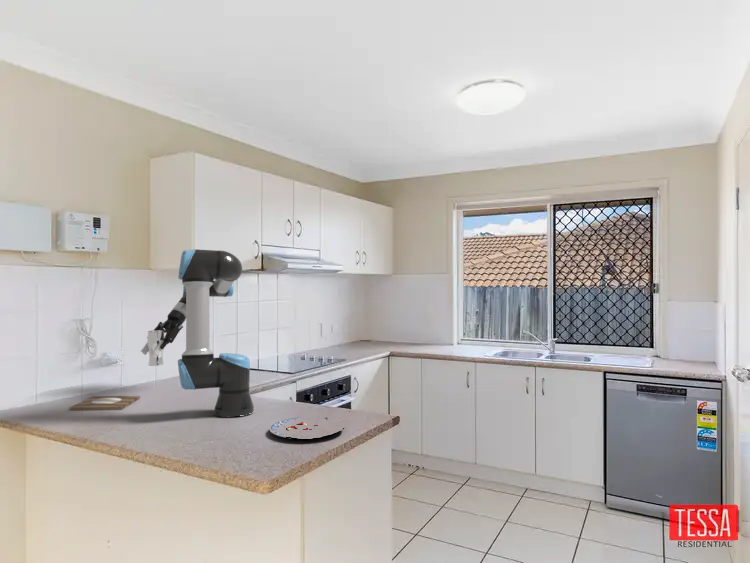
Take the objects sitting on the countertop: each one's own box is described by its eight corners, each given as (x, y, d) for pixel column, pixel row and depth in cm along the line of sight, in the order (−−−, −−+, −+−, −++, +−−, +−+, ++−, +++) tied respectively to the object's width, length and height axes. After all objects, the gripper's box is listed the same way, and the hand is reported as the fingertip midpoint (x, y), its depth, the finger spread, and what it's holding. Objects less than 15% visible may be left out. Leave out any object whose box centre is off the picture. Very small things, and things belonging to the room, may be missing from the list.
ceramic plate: (315, 449, 157) (315, 439, 157) (253, 436, 170) (253, 427, 170) (358, 429, 179) (358, 420, 179) (300, 419, 192) (300, 411, 192)
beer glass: (167, 364, 226) (168, 330, 226) (157, 366, 220) (157, 332, 220) (154, 363, 228) (155, 330, 228) (143, 365, 222) (143, 331, 222)
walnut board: (121, 409, 203) (121, 405, 203) (69, 410, 202) (69, 406, 202) (139, 398, 223) (140, 395, 223) (92, 399, 221) (92, 395, 221)
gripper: (198, 320, 233) (169, 360, 219) (168, 318, 242) (139, 357, 228) (189, 309, 228) (159, 349, 214) (159, 308, 237) (128, 346, 223)
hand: (149, 353), depth 221 cm, fingers closed on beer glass, 7 cm apart
